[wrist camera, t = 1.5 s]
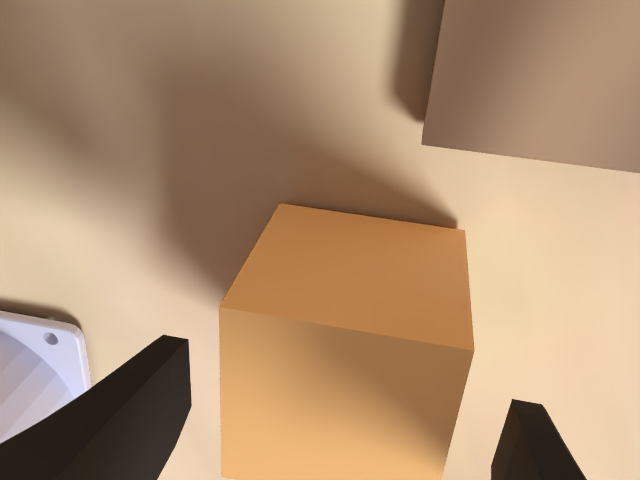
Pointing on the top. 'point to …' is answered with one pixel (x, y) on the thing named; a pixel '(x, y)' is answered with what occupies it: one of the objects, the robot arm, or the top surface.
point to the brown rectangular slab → (539, 81)
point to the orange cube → (344, 349)
